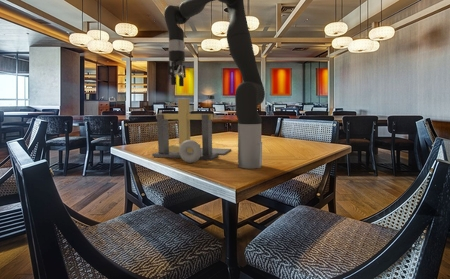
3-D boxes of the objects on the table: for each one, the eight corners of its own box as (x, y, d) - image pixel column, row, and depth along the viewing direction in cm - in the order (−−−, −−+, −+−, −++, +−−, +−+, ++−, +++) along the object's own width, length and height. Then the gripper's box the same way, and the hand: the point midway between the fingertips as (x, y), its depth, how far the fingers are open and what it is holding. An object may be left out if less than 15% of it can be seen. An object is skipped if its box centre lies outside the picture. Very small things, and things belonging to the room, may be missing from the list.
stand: (217, 156, 126) (217, 113, 124) (210, 160, 117) (210, 114, 114) (162, 153, 135) (161, 113, 132) (152, 156, 126) (150, 114, 123)
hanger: (215, 149, 126) (215, 98, 123) (208, 153, 117) (207, 98, 114) (164, 147, 134) (162, 99, 131) (153, 150, 125) (151, 99, 122)
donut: (178, 163, 112) (177, 140, 110) (181, 161, 115) (180, 139, 114) (200, 164, 109) (199, 140, 108) (202, 162, 113) (202, 139, 111)
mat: (231, 150, 142) (231, 149, 142) (223, 155, 129) (223, 153, 129) (197, 148, 148) (197, 147, 148) (186, 153, 134) (186, 151, 134)
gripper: (177, 47, 117) (178, 84, 119) (189, 53, 131) (190, 86, 133) (162, 48, 119) (163, 84, 121) (176, 54, 133) (177, 86, 135)
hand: (177, 85), depth 127 cm, fingers open, 8 cm apart
